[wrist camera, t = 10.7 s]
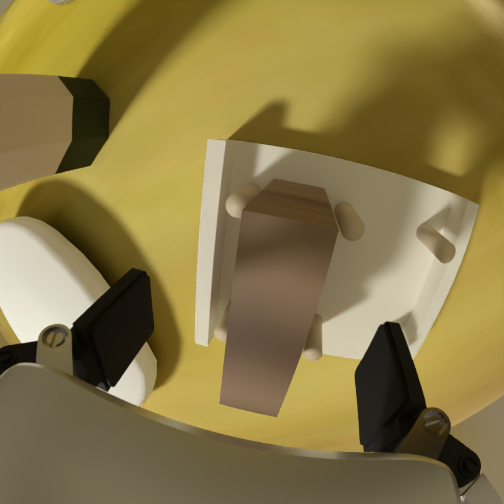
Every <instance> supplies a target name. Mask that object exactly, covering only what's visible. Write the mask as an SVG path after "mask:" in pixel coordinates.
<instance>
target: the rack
mask: <svg viewBox="0 0 504 504" xmlns="http://www.w3.org/2000/svg"><path fill="white" fill-rule="evenodd" d="M273 179H280V180H285V181H290V182H296V183H301V184H306V185H311V186H315V187H320V188H325V191H326V194H327V196H328V199H329V202H330V205H331V208H332V211H333V214H334V217H335V220H336V223H337V226H338V229H339V231H338V235H337V239H336V243H335V246H334V250H333V254H332V258H331V261H330V265H329V269H328V272H327V276H326V279H325V282H324V286H323V289H322V293H321V296H320V299H319V302H318V306H317V309H316V312H315V315H314V318H313V321H312V324H311V327H310V330H309V333H308V336H307V339H306V342H305V345H304V348H303V356H304V358H305V359H307V360H311V361H314V360H318V359H319V358H321V356H322V354H327V355H333V356H339V357H346V358H353V359H360V360H362V358H363V356H364V354H365V352H366V351H367V349H368V347H369V345H370V343H371V341H372V339H373V337H374V335H375V333H376V331H377V329H378V327H379V325H380V324H384V322H385V321H389V322H396V323H399V324H400V326H401V328H402V331H403V334H404V336H405V339H406V342H407V345H408V348H409V350H410V353H411V356H412V359H413V358H414V357H415V355H416V353H417V352H418V350H419V348H420V347H421V345H422V343H423V342H424V340H425V338H426V336H427V334H428V333H429V331H430V329H431V327H432V325H433V323H434V321H435V320H436V318H437V316H438V314H439V312H440V310H441V308H442V306H443V303H444V301H445V299H446V297H447V295H448V293H449V290H450V288H451V286H452V284H453V281H454V279H455V277H456V274H457V272H458V269H459V267H460V264H461V261H462V259H463V256H464V253H465V251H466V248H467V245H468V242H469V239H470V236H471V233H472V230H473V226H474V223H475V220H476V216H477V213H478V209H479V205H478V204H476V203H474V202H472V201H470V200H468V199H466V198H463V197H461V196H459V195H457V194H455V193H452V192H449V191H447V190H444V189H441V188H439V187H436V186H433V185H430V184H427V183H424V182H421V181H418V180H415V179H412V178H409V177H406V176H403V175H400V174H396V173H393V172H390V171H386V170H383V169H379V168H376V167H372V166H368V165H364V164H361V163H357V162H353V161H348V160H344V159H340V158H336V157H331V156H327V155H322V154H317V153H312V152H307V151H302V150H297V149H291V148H285V147H279V146H273V145H267V144H260V143H253V142H245V141H237V140H228V139H208V144H207V153H206V162H205V171H204V181H203V192H202V204H201V216H200V229H199V244H198V261H197V282H196V311H195V343H197V344H200V345H203V346H207V347H208V345H209V343H210V341H211V339H212V337H213V335H215V337H216V338H217V339H219V340H221V341H224V342H226V338H227V330H228V321H229V312H230V303H231V295H232V287H233V278H234V270H235V262H236V254H237V246H238V238H239V230H240V222H241V215H242V210H243V209H244V208H245V207H246V206H247V205H248V204H249V203H250V202H251V201H252V200H253V199H254V198H255V197H256V196H257V195H258V194H259V193H260V192H261V191H262V190H263V189H264V188H265V187H266V186H267V185H268V184H269V183H270V182H271V181H272V180H273Z"/></svg>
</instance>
